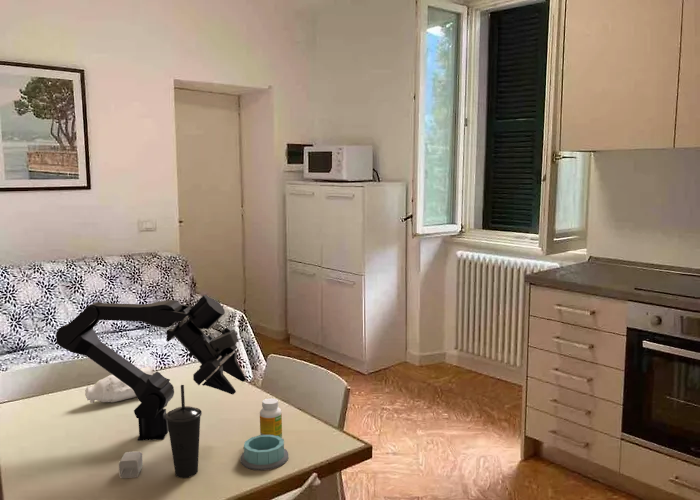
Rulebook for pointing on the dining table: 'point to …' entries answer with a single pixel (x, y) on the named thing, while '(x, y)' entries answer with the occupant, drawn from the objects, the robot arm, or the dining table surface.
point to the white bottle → (112, 389)
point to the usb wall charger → (130, 464)
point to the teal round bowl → (264, 453)
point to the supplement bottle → (270, 418)
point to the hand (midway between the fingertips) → (239, 386)
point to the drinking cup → (184, 438)
